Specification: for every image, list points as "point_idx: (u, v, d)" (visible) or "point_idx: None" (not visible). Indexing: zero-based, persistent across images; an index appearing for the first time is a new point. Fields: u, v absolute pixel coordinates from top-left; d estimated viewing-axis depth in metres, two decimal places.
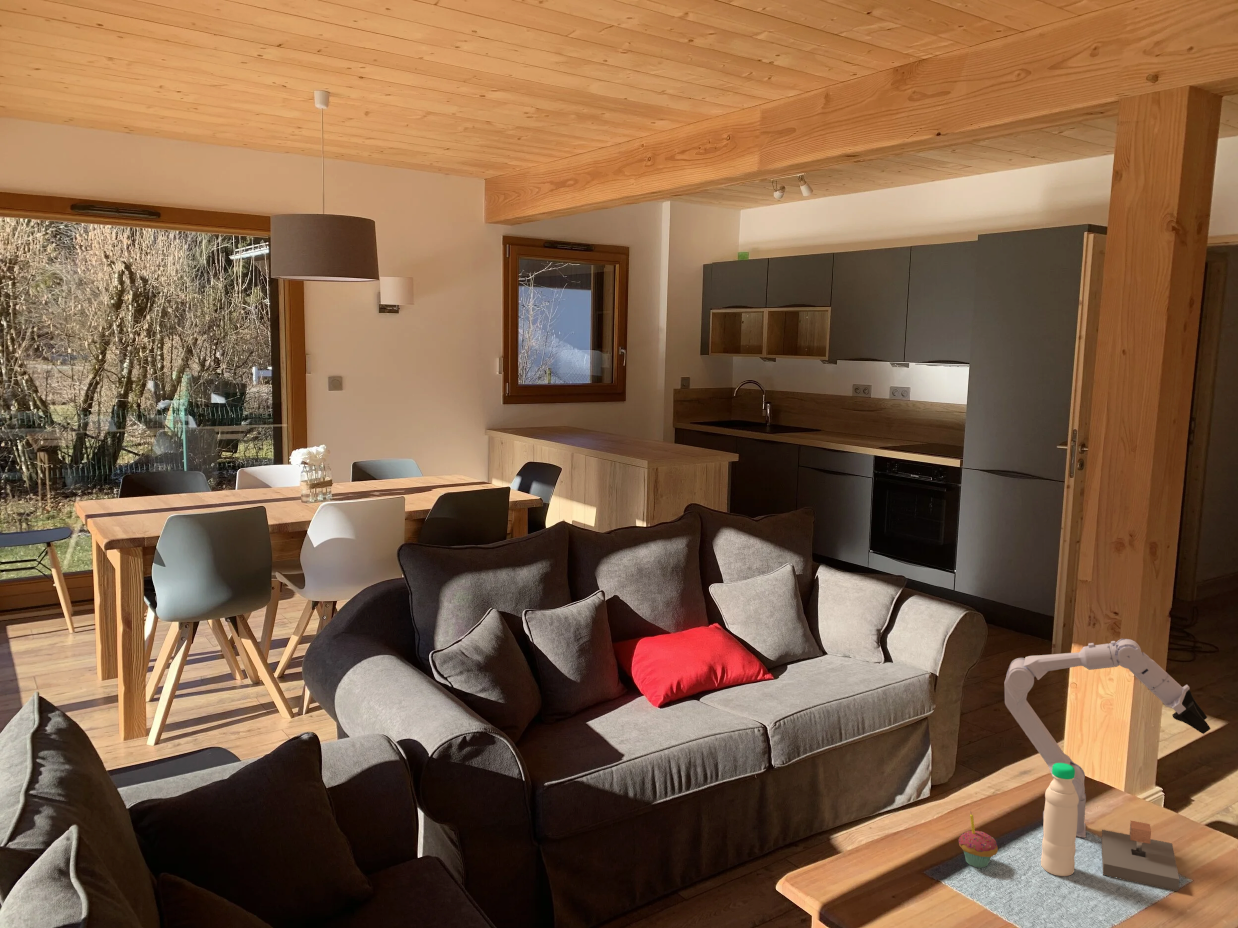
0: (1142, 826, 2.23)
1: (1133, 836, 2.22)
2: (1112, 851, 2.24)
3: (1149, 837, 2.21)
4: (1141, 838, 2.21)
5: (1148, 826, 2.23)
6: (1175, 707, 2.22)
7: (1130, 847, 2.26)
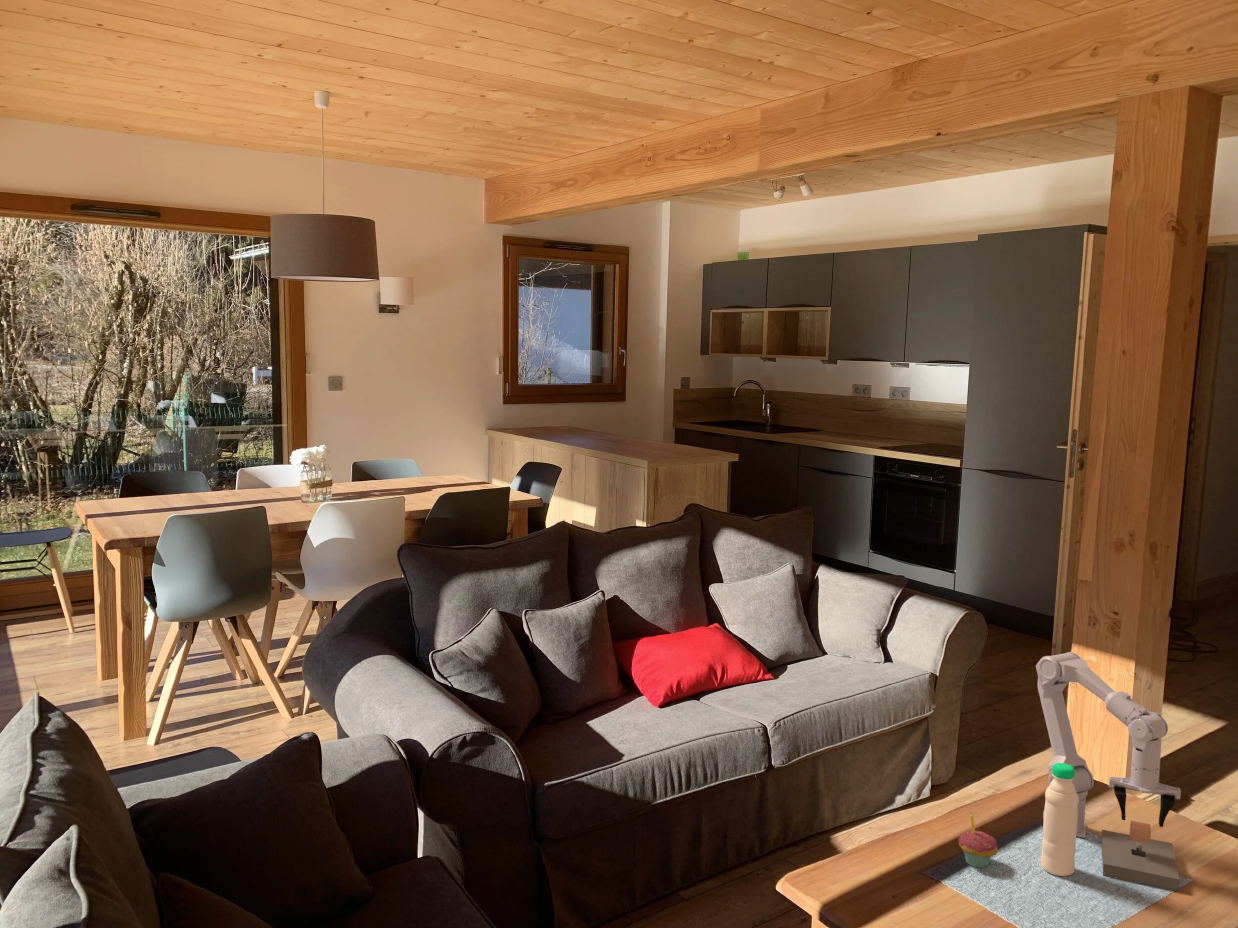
0: (1142, 826, 2.23)
1: (1133, 836, 2.22)
2: (1112, 851, 2.24)
3: (1149, 837, 2.21)
4: (1141, 838, 2.21)
5: (1148, 826, 2.23)
6: (1109, 778, 2.25)
7: (1130, 847, 2.26)
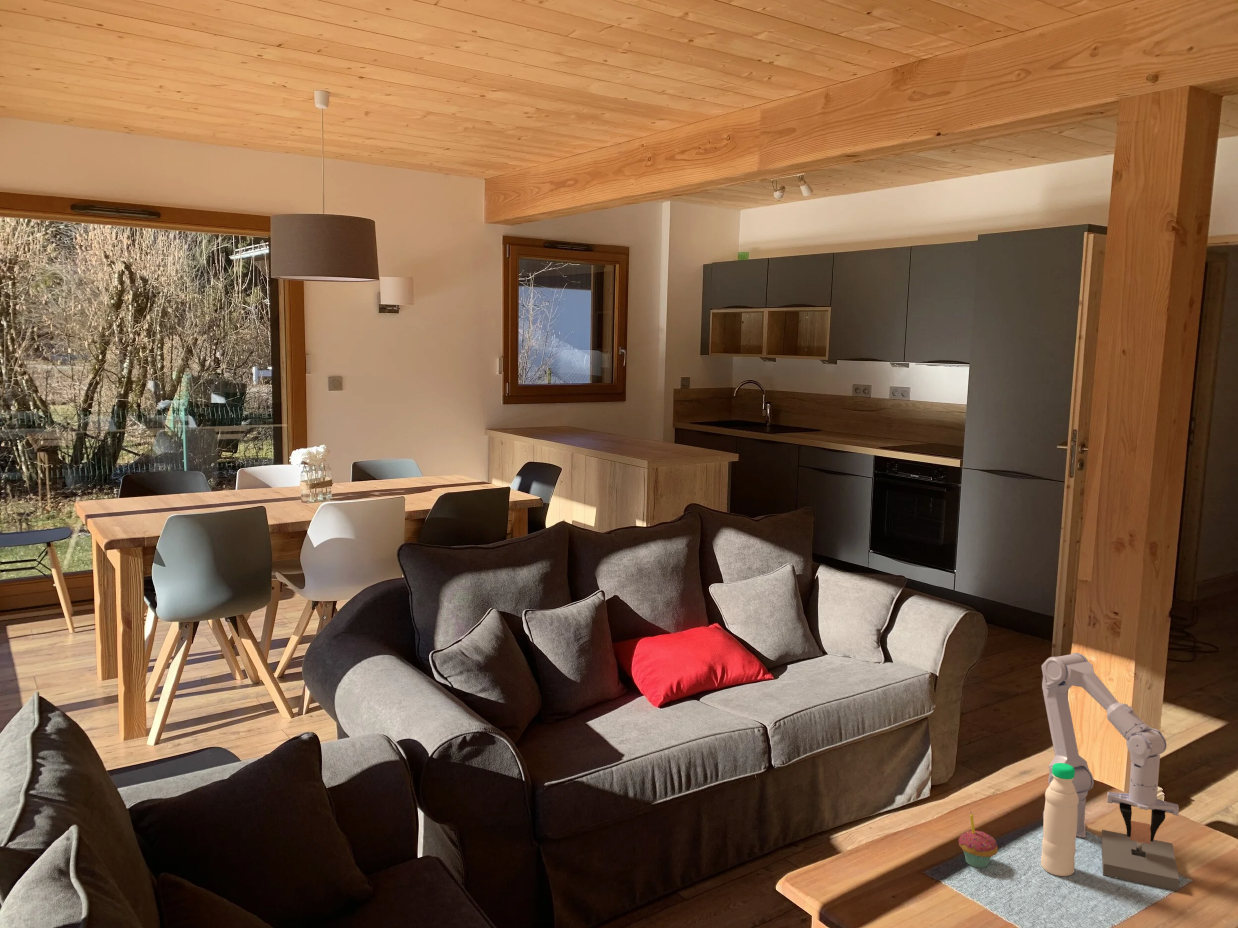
0: (1142, 826, 2.23)
1: (1133, 836, 2.22)
2: (1112, 851, 2.24)
3: (1149, 837, 2.21)
4: (1141, 838, 2.21)
5: (1148, 826, 2.23)
6: (1107, 793, 2.26)
7: (1130, 847, 2.26)
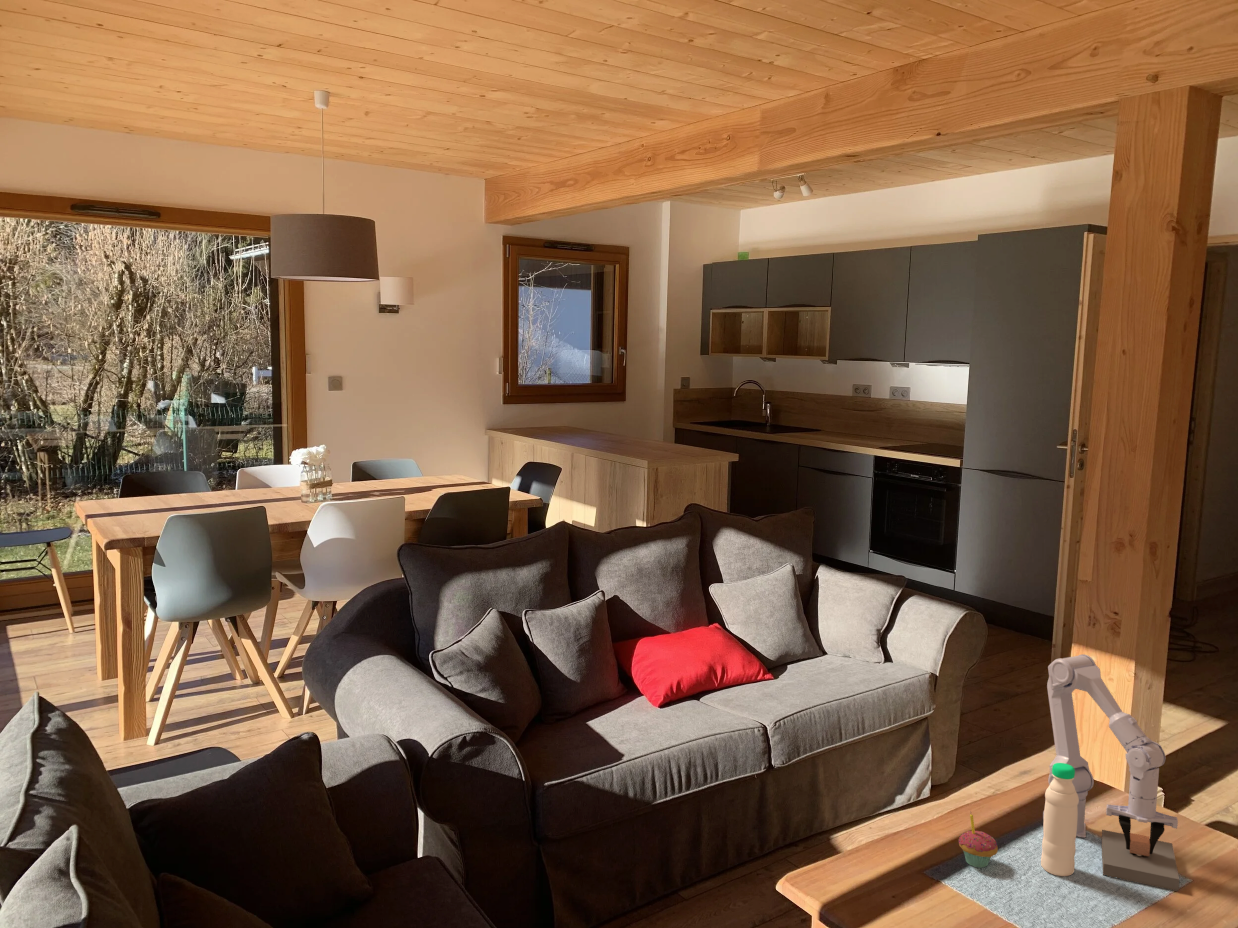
0: (1141, 838, 2.23)
1: (1132, 848, 2.22)
2: (1112, 851, 2.24)
3: (1148, 850, 2.21)
4: (1140, 850, 2.22)
5: (1147, 838, 2.23)
6: None
7: None
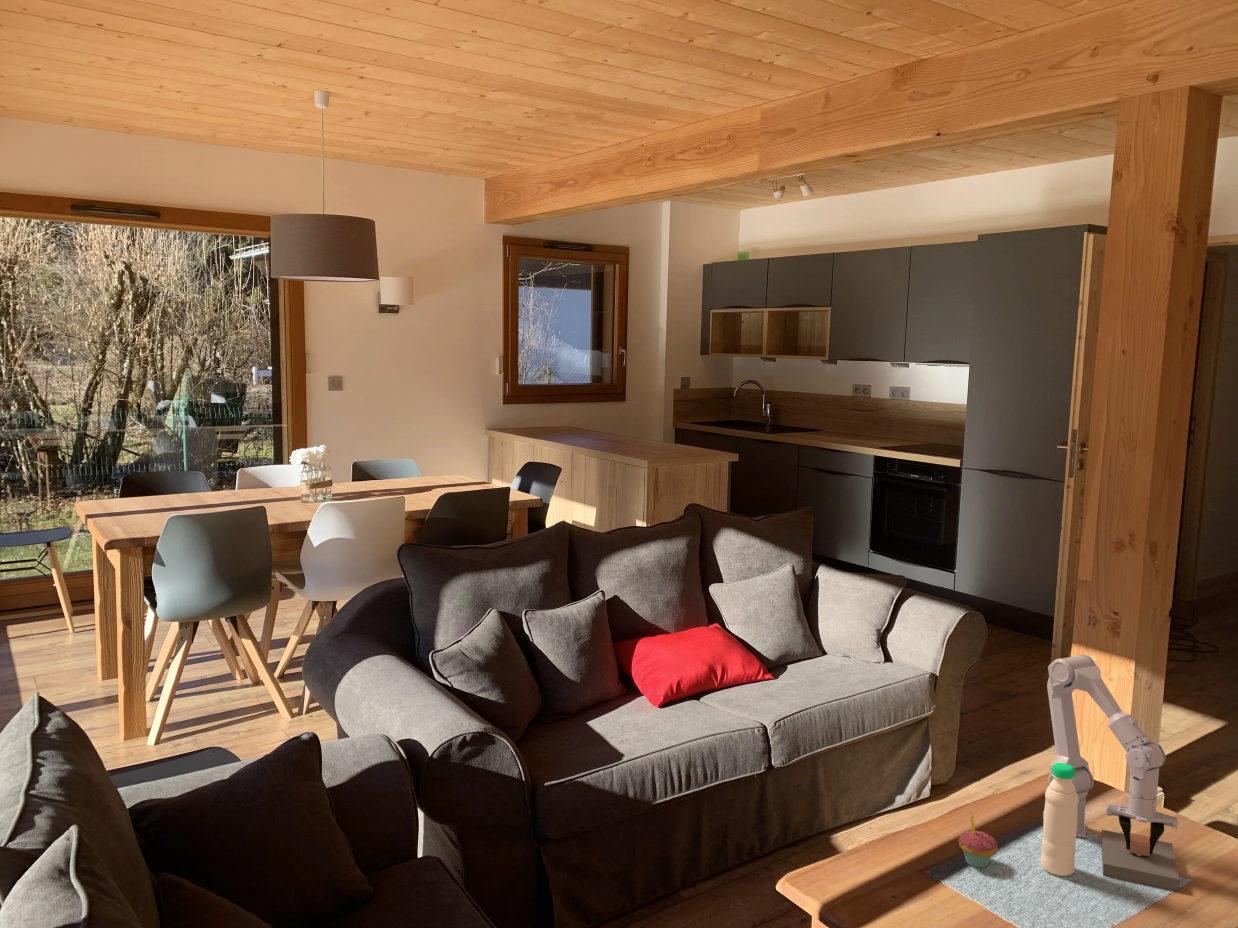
0: (1141, 838, 2.23)
1: (1132, 849, 2.22)
2: (1112, 851, 2.24)
3: (1148, 850, 2.21)
4: (1140, 851, 2.22)
5: (1147, 838, 2.23)
6: None
7: None
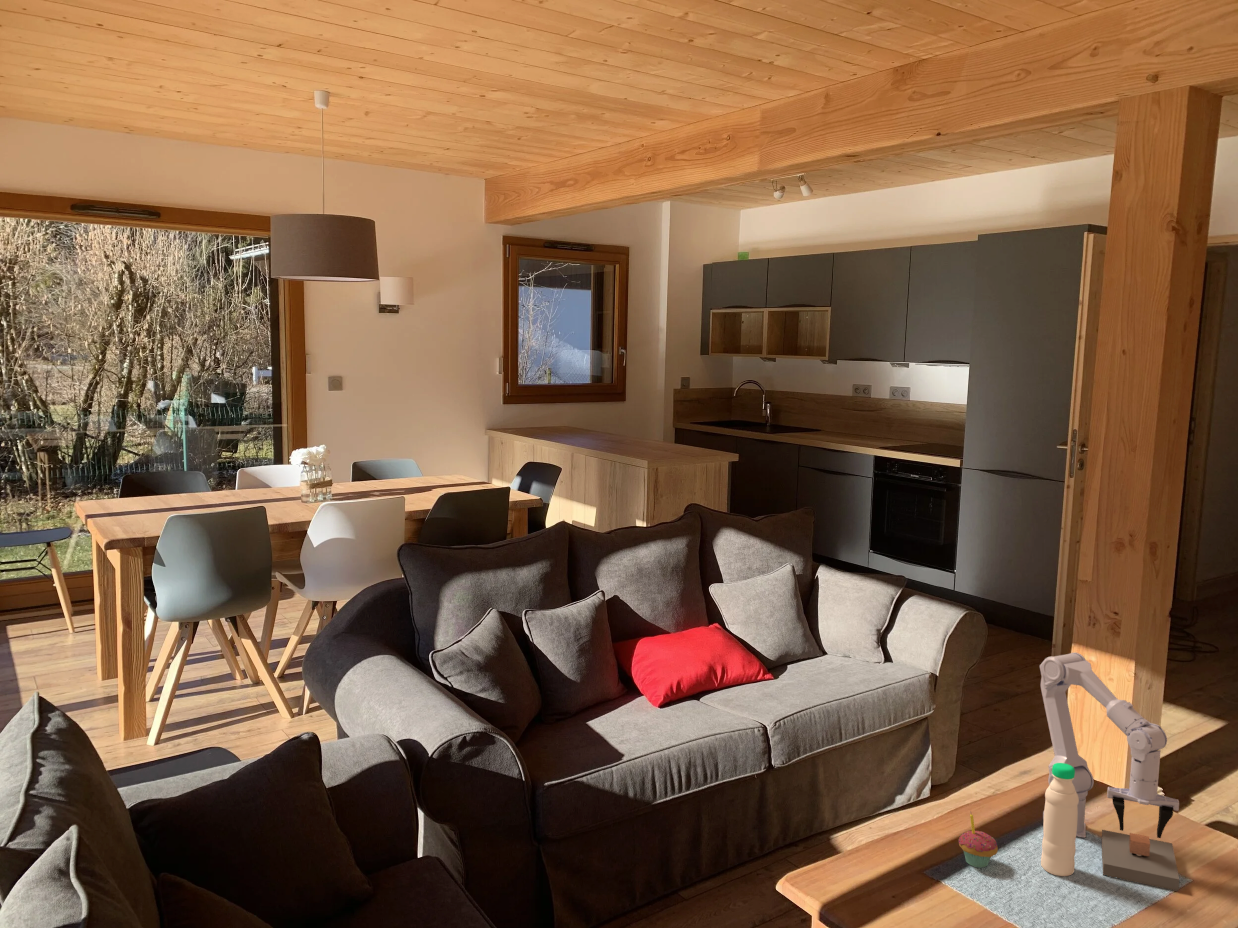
0: (1141, 838, 2.23)
1: (1132, 848, 2.22)
2: (1112, 851, 2.24)
3: (1148, 850, 2.21)
4: (1140, 851, 2.22)
5: (1147, 838, 2.23)
6: None
7: None
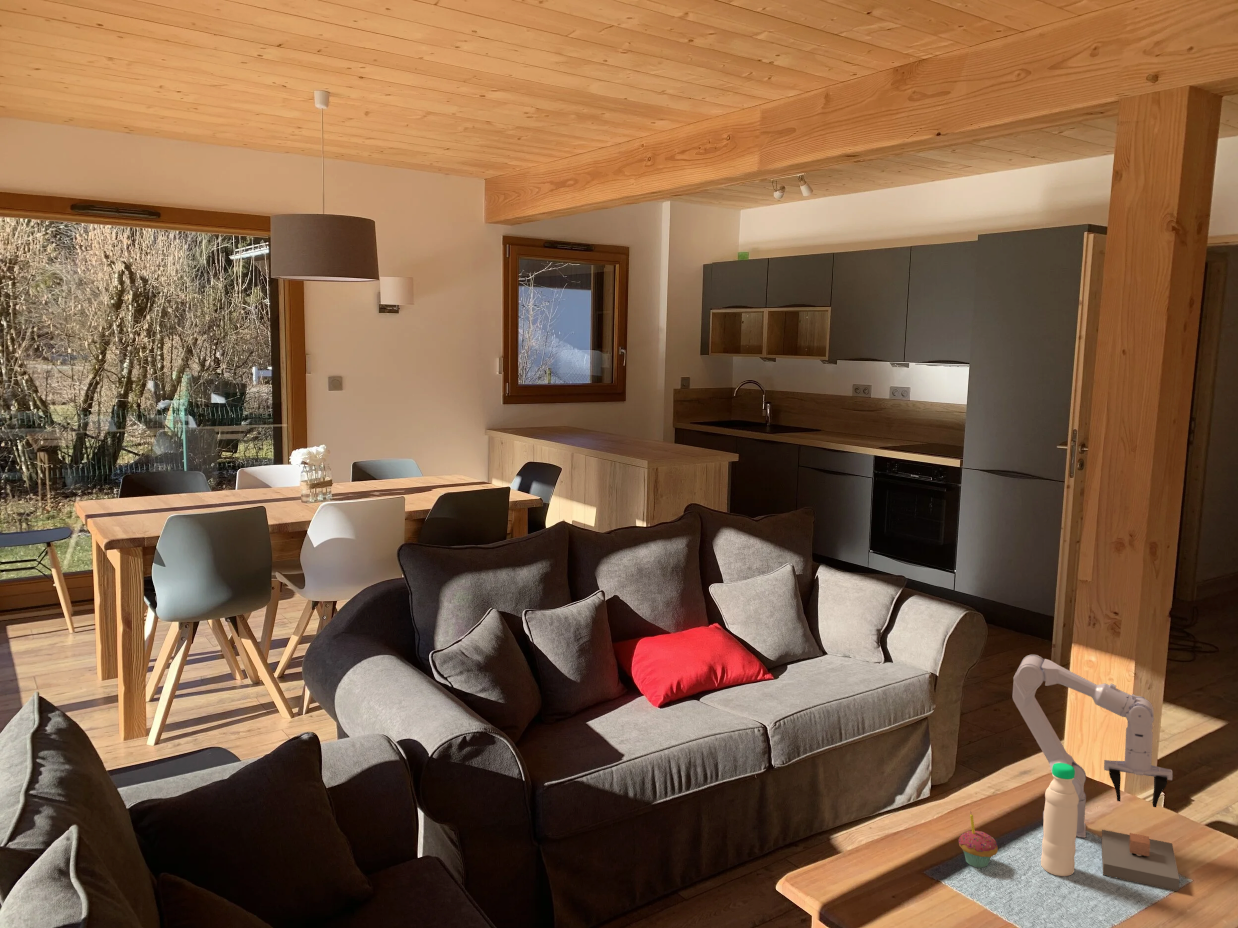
0: (1141, 838, 2.23)
1: (1132, 848, 2.22)
2: (1112, 851, 2.24)
3: (1148, 850, 2.21)
4: (1140, 851, 2.22)
5: (1147, 838, 2.23)
6: (1104, 761, 2.36)
7: None
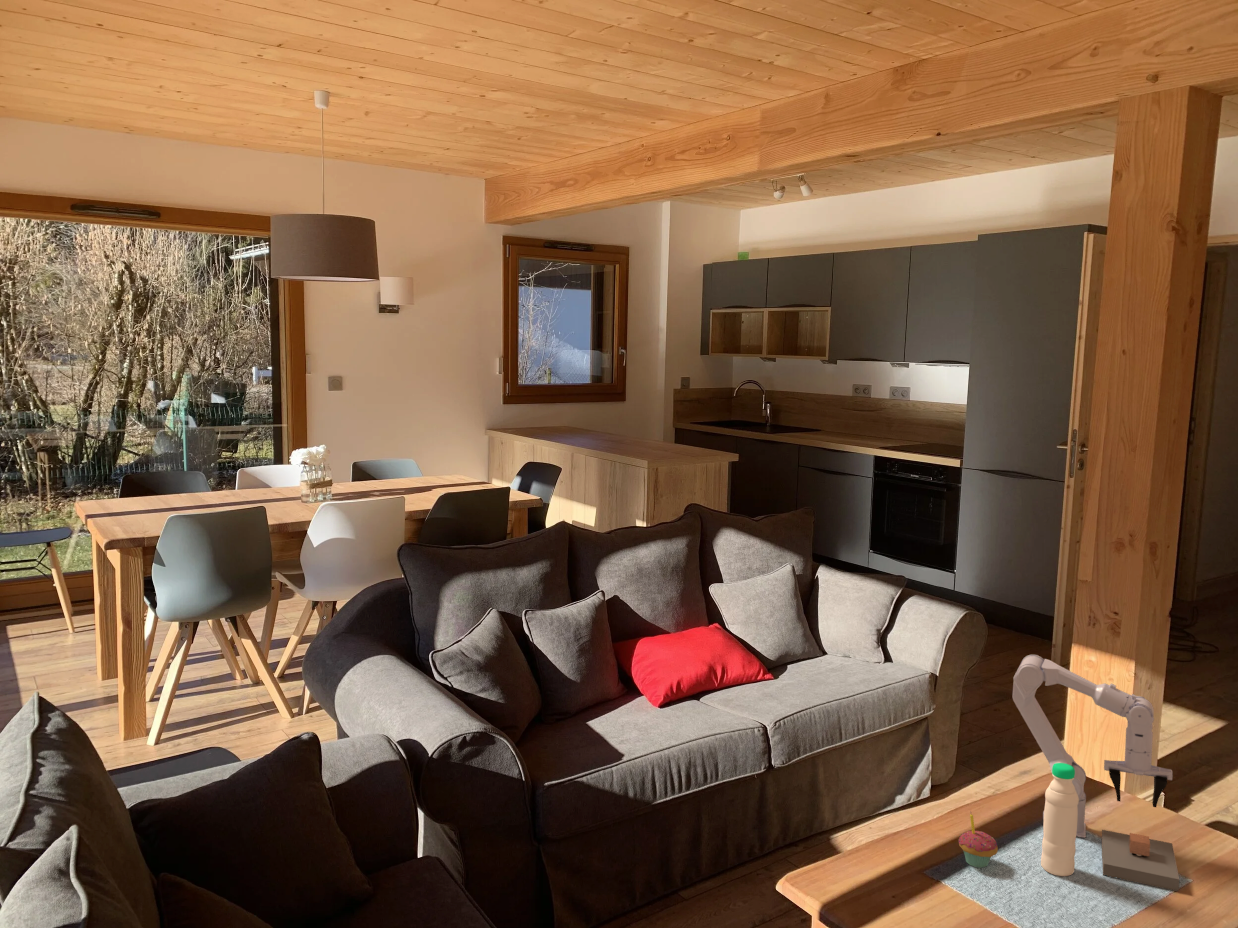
0: (1141, 838, 2.23)
1: (1132, 848, 2.22)
2: (1112, 851, 2.24)
3: (1148, 850, 2.21)
4: (1140, 851, 2.22)
5: (1147, 838, 2.23)
6: (1104, 761, 2.36)
7: None
